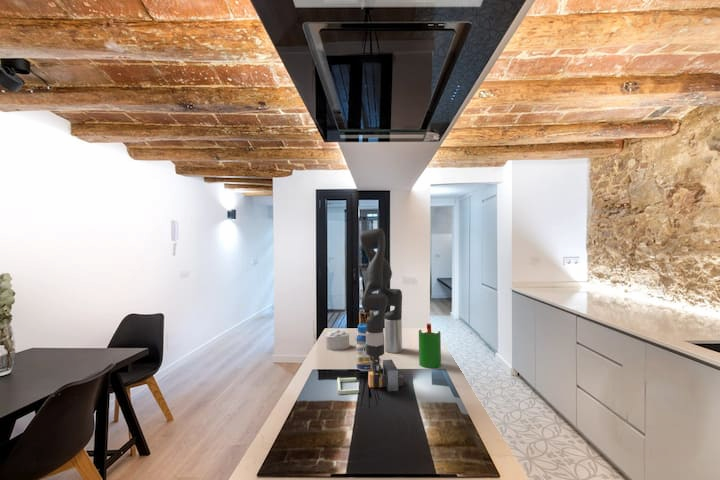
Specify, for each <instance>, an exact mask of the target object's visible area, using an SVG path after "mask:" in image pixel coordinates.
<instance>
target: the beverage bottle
mask: <svg viewBox="0 0 720 480" xmlns="http://www.w3.org/2000/svg"><path fill="white" fill-rule="evenodd" d="M357 333H358V334H357V336H356V343H355V347H356V368H357V370H359V371H362V372H369V371H372V370H371V366H370V356H369V355H367V354H366V323H359V324H358V325H357Z"/></svg>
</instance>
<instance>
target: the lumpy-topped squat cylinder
mask: <svg viewBox="0 0 720 480" xmlns="http://www.w3.org/2000/svg"><path fill="white" fill-rule="evenodd" d="M348 348H350V333H348V332H346V331H345V330H340V329H335V330H331V331H328V332H326V335H325V349H326V350H328V351H339V350H346V349H348Z"/></svg>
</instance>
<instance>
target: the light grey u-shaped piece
mask: <svg viewBox="0 0 720 480" xmlns="http://www.w3.org/2000/svg"><path fill="white" fill-rule="evenodd" d="M336 380H337V381H336V382H337V392H338V393H337V394H338V395H350V394H359V393H360V388H353V389H350V388H349V389H348V388H347V389H341V383H349V382H357V377H337V379H336Z"/></svg>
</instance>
